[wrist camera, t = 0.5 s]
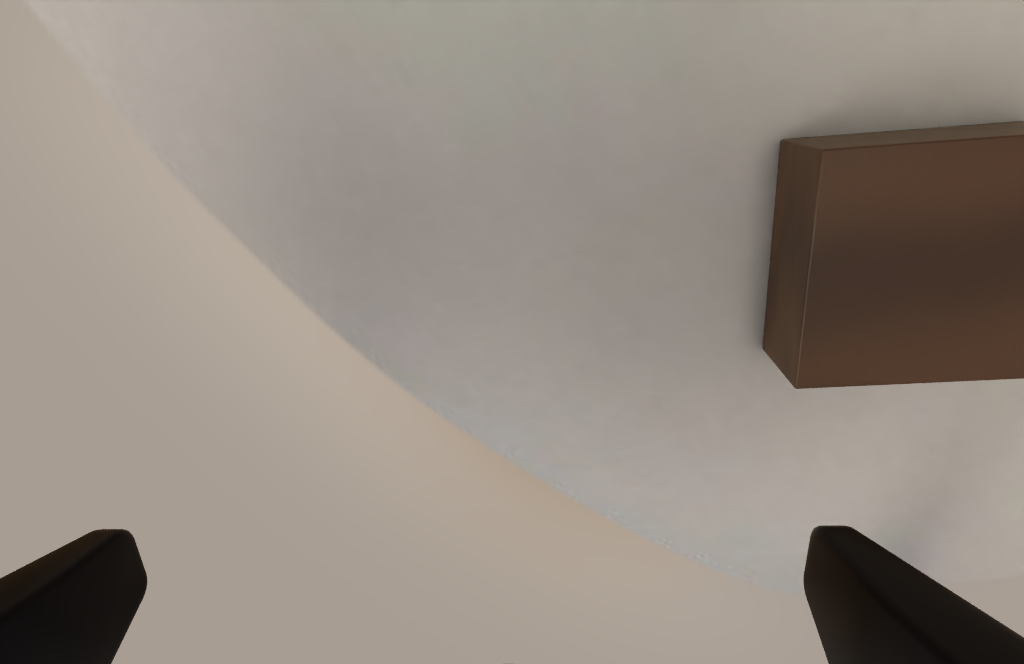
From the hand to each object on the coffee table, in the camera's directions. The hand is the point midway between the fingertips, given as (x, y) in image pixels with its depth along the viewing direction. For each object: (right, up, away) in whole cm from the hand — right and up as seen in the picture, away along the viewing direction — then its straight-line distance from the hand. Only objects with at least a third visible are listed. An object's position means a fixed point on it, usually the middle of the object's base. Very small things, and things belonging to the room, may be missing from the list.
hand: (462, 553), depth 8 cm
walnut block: (+13, +6, +11) cm, 18 cm away
